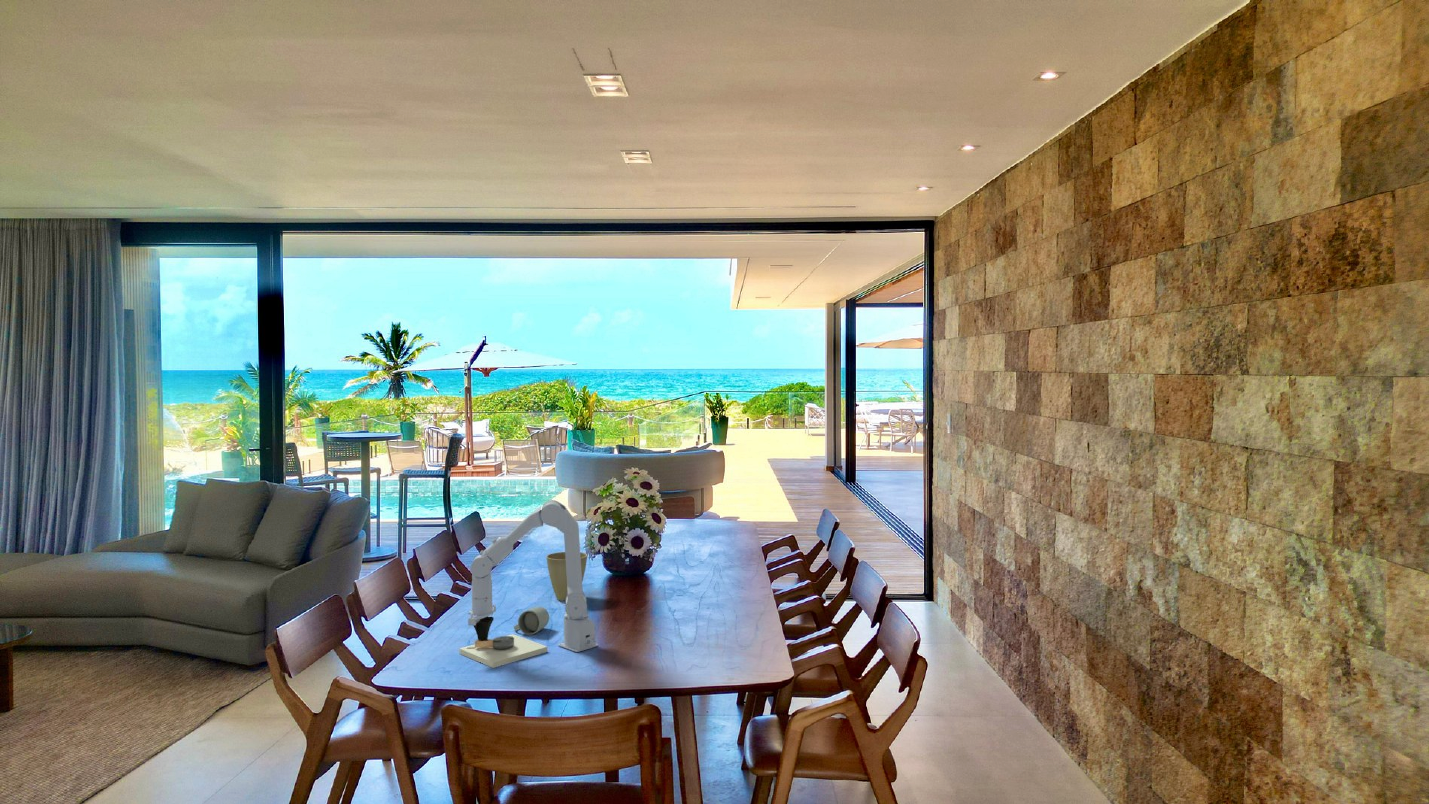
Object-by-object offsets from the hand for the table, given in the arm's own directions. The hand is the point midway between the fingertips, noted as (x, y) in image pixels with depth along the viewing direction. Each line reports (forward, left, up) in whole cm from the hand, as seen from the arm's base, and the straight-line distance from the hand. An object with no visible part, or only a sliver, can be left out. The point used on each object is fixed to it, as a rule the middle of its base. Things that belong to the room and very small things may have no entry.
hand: (482, 642), depth 227 cm
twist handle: (-4, -2, -1) cm, 4 cm away
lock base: (-5, -4, -3) cm, 7 cm away
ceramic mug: (+6, -21, -3) cm, 22 cm away
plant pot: (+30, -53, -3) cm, 60 cm away
